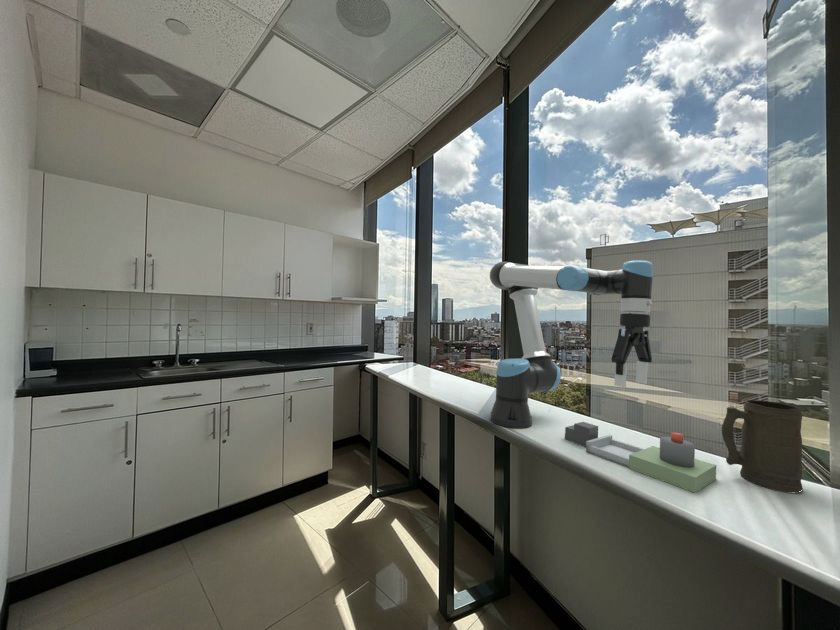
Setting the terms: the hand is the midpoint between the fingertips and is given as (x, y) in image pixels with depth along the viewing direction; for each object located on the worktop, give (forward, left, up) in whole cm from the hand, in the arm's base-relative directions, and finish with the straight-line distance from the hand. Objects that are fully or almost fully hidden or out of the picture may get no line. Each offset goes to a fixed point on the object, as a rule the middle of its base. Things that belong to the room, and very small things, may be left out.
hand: (631, 384), depth 97 cm
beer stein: (+25, +12, -21) cm, 35 cm away
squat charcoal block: (-12, -4, -21) cm, 24 cm away
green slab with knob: (+6, -4, -20) cm, 22 cm away
